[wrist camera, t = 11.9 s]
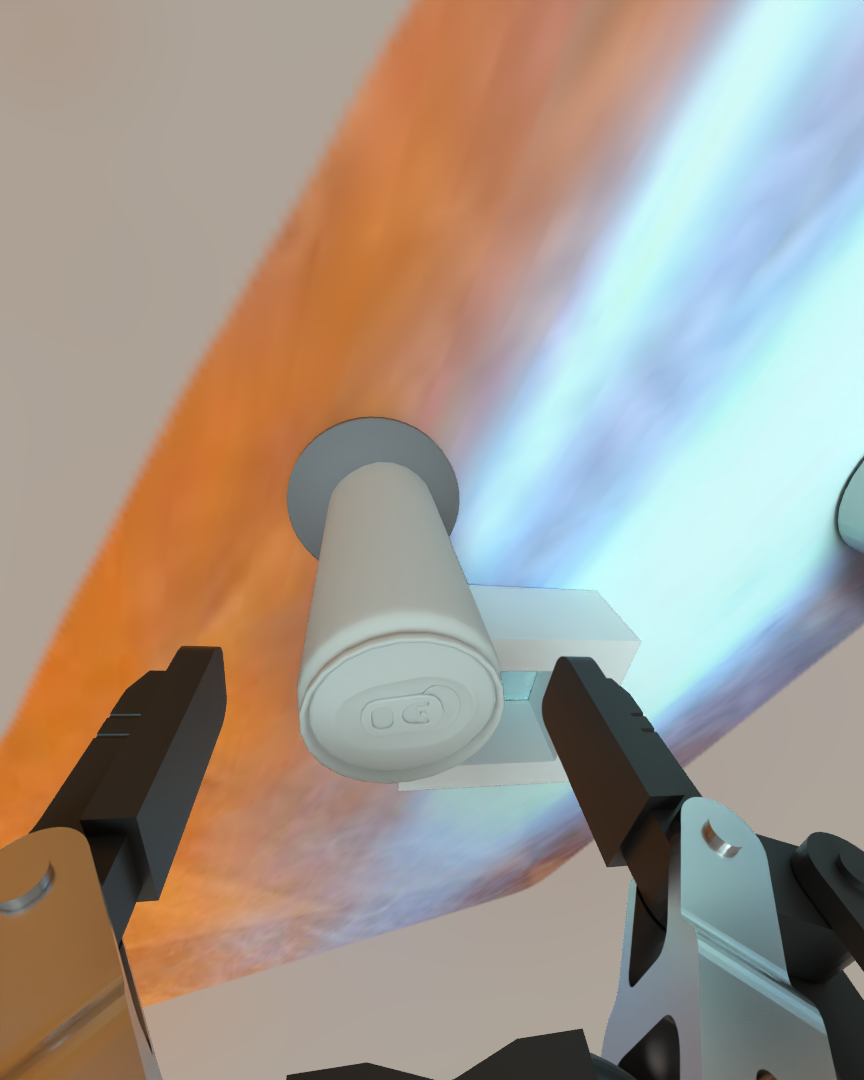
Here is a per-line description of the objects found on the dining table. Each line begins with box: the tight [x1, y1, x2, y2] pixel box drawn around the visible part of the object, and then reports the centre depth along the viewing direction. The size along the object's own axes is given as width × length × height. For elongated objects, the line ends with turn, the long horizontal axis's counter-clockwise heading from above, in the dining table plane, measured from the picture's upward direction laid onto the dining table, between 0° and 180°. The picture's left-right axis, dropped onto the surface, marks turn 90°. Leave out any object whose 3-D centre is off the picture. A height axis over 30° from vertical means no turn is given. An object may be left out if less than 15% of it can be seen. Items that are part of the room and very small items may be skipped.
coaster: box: [287, 417, 459, 560], centre depth 20 cm, size 8×8×1 cm
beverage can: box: [297, 462, 505, 784], centre depth 14 cm, size 5×5×12 cm
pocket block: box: [397, 585, 641, 791], centre depth 24 cm, size 11×11×4 cm
